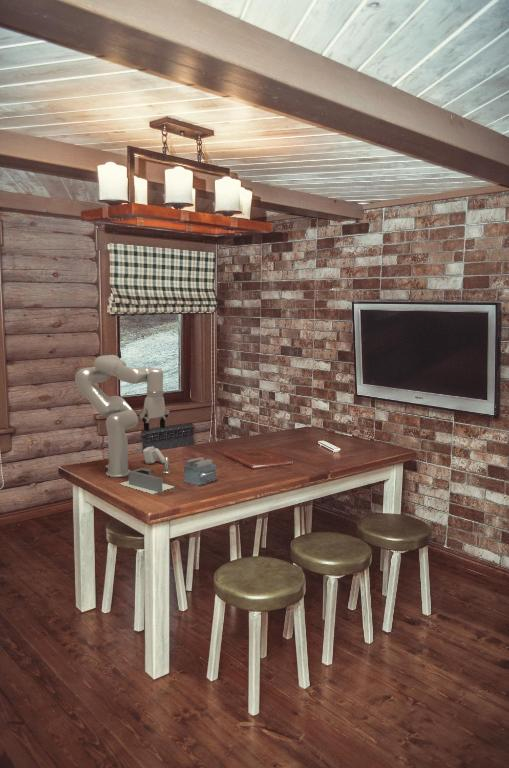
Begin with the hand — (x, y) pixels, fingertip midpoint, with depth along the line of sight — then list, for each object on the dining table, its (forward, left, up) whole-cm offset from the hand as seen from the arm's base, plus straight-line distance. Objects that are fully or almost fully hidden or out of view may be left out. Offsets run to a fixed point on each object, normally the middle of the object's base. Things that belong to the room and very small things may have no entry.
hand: (154, 429), depth 286 cm
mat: (+3, -8, -26) cm, 27 cm away
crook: (+5, -7, -25) cm, 27 cm away
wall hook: (-25, +23, -26) cm, 43 cm away
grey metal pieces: (+7, +14, -26) cm, 30 cm away
